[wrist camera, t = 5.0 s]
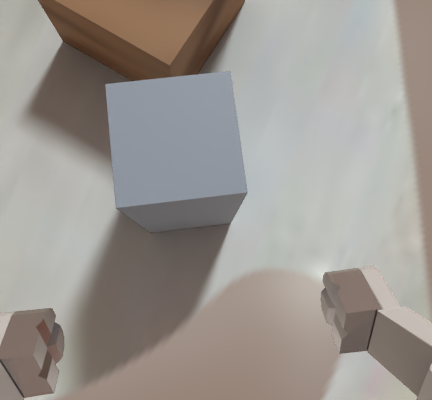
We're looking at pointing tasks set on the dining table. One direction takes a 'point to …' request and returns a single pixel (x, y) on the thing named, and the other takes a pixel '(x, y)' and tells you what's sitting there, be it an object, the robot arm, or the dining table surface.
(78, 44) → the walnut block
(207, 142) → the slate block
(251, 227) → the dining table surface
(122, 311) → the dining table surface
